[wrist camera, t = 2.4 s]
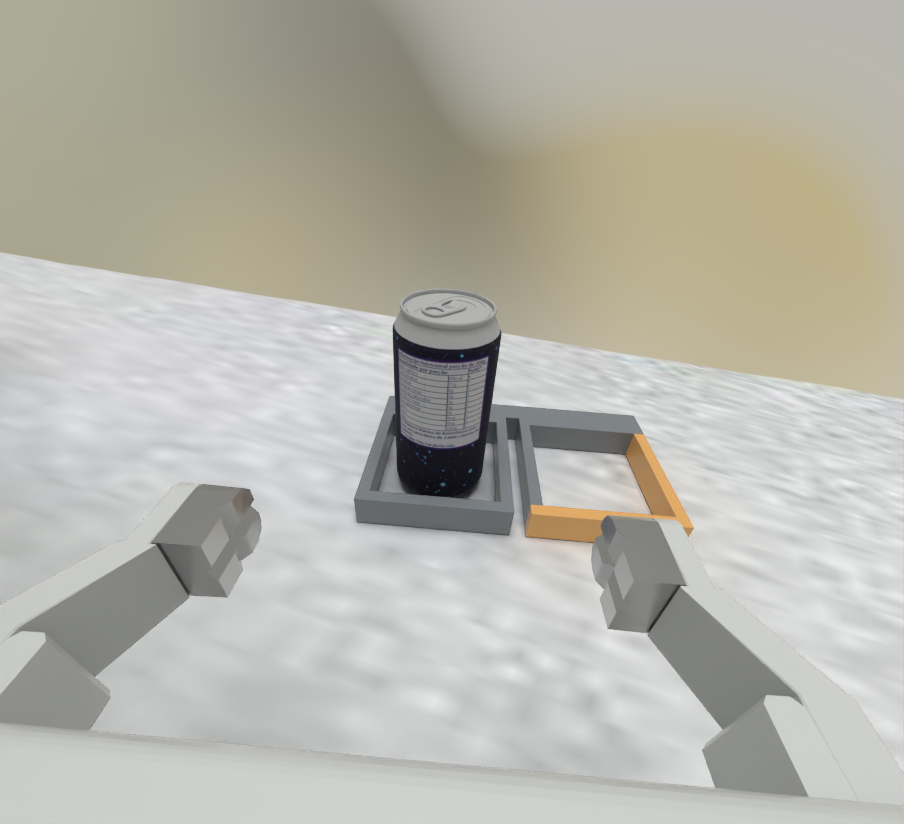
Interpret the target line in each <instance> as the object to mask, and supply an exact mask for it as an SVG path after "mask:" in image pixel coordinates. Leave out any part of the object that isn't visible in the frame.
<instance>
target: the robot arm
mask: <svg viewBox="0 0 904 824" xmlns="http://www.w3.org/2000/svg"><path fill="white" fill-rule="evenodd" d="M253 500H254V498H253V496H252V494H251V491H250V489H245V488H235V487H226V486H216V485H206V484H193V483H183V482H181V483H179V484H177V485H175V486H173V487H172V488H171V489H170V491H169V492H168V493H167V494H166V495H165V496H164V497H163V498H162V500H161V501H160V502H159V503H158V504H157V505H156V506H155V507H154V509H153V510H152V511H151V512H150V513H149V514H148V515H147V516H146V518H145V519H144V520H143V521H142V522H141V523H140V524H139V525H138V527H137V528H136V529H135V530H134V531H133V532H132V533H131V534H130V536H129V537H128V538H127V539H126V540H125V541H117V542H115V543H113V544H111V545H109V546H107V547H105V548H104V549H102V550H100V551H98V552H96V553H94V554H93V555H91V556H89V557H87V558H85V559H83V560H82V561H80V562H78V563H76V564H74V565H72V566H71V567H69V568H67V569H65V570H63V571H61V572H60V573H58V574H56V575H54V576H52V577H50V578H49V579H47V580H45V581H43V582H41V583H39V584H38V585H36V586H34V587H32V588H30V589H28V590H26V591H25V592H23V593H21V594H19V595H17V596H15V597H14V598H12V599H10V600H8V601H6V602H4V603H3V604H1V605H0V824H904V772H903V771H902V769H901V768H900V766H899V765H898V763H897V762H896V760H895V759H894V757H893V756H892V754H891V753H890V751H889V750H888V748H887V747H886V745H885V744H884V742H883V741H882V739H881V738H880V736H879V735H878V733H877V732H876V730H875V729H874V727H873V726H872V724H871V723H870V721H869V720H868V718H867V717H866V715H865V714H864V712H863V711H862V709H861V708H860V706H859V705H858V703H857V702H856V700H855V699H853V698H852V697H851V696H850V695H849V694H847V693H846V692H845V691H844V690H843V689H841V688H840V687H839V686H838V685H837V684H835V683H834V682H833V681H832V680H831V679H829V678H828V677H827V676H826V675H825V674H823V673H822V672H821V671H820V670H819V669H817V668H816V667H815V666H814V665H813V664H811V663H810V662H809V661H808V660H807V659H805V658H804V657H803V656H802V655H801V654H799V653H798V652H797V651H796V650H795V649H793V648H792V647H791V646H790V645H789V644H787V643H786V642H785V641H784V640H783V639H781V638H780V637H779V636H778V635H777V634H775V633H774V632H773V631H772V630H771V629H769V628H768V627H767V626H766V625H765V624H763V623H762V622H761V621H760V620H759V619H757V618H756V617H755V616H754V615H753V614H751V613H750V612H749V611H748V610H747V609H745V608H744V607H743V606H742V605H741V604H740V603H738V602H737V601H736V600H735V599H734V598H732V597H731V596H730V595H729V594H728V593H726V592H725V591H724V590H723V589H715V587H714V585H713V584H712V582H711V580H710V578H709V576H708V574H707V572H706V570H705V568H704V567H703V565H702V563H701V561H700V559H699V557H698V555H697V553H696V551H695V549H694V548H693V546H692V544H691V542H690V540H689V538H688V536H687V534H686V532H685V530H684V529H683V527H682V525H681V524H680V523H679V522H678V521H677V520H668V519H654V518H653V519H651V518H644V517H628V516H612V515H607V516H606V517H605V518H604V519H603V521H602V523H601V529H602V533H603V534H602V535H600V536H599V537H597V538H595V541H594V544H593V547H592V557H591V561H592V570H593V574H594V578H595V580H596V581H597V583H598V584H599V585H600V586H601V587H602V588H603V589H604V591H603V593H602V595H601V597H600V601H601V605H602V609H603V613H604V616H605V620H606V624H607V628H608V629H613V630H622V631H631V632H640V633H649V634H648V637H649V638H650V639H651V640H652V642H653V643H654V644H655V645H656V647H657V648H658V649H659V650H660V652H661V653H662V654H663V655H664V657H665V658H666V659H667V660H668V662H669V663H670V664H671V665H672V667H673V668H674V669H675V670H676V672H677V673H678V674H679V676H680V677H681V678H682V679H683V681H684V682H685V683H686V684H687V686H688V687H689V688H690V689H691V691H692V692H693V693H694V694H695V696H696V697H697V698H698V699H699V701H700V702H701V703H702V704H703V706H704V707H705V708H706V709H707V711H708V712H709V713H710V714H711V716H712V717H713V718H714V719H715V721H716V722H717V723H718V724H719V726H720V727H721V728H722V729H723V730H722V731H721V732H720V733H718V734H717V735H716V736H715V737H713V738H712V739H711V740H710V741H708V742H707V743H706V745H705V747H704V748H703V750H702V751H703V754H704V757H705V760H706V763H707V765H708V768H709V771H710V774H711V777H712V780H713V783H714V785H715V788H710V787H699V786H688V785H678V784H667V783H656V782H645V781H634V780H623V779H612V778H601V777H590V776H579V775H568V774H557V773H547V772H536V771H525V770H514V769H503V768H492V767H481V766H470V765H459V764H448V763H437V762H426V761H416V760H405V759H394V758H383V757H372V756H361V755H350V754H339V753H328V752H317V751H306V750H296V749H285V748H274V747H263V746H252V745H241V744H230V743H219V742H208V741H197V740H186V739H176V738H165V737H154V736H143V735H132V734H121V733H110V732H99V731H89V730H90V729H91V727H92V726H93V724H94V723H95V721H96V719H97V718H98V716H99V715H100V713H101V712H102V710H103V709H104V707H105V706H106V704H107V702H108V701H109V699H110V690H109V689H108V688H106V687H105V686H104V685H103V684H102V683H101V682H100V681H99V680H97V679H96V678H95V676H96V675H97V674H98V673H100V672H101V671H102V670H103V669H104V668H106V667H107V666H108V665H109V664H110V663H112V662H113V661H114V660H115V659H116V658H118V657H119V656H120V655H121V654H122V653H124V652H125V651H126V650H127V649H128V648H130V647H131V646H132V645H133V644H134V643H136V642H137V641H138V640H139V639H140V638H142V637H143V636H144V635H145V634H146V633H148V632H149V631H150V630H151V629H152V628H154V627H155V626H156V625H157V624H158V623H160V622H161V621H162V620H163V619H164V618H166V617H167V616H168V615H169V614H170V613H172V612H173V611H174V610H175V609H176V608H178V607H179V606H180V605H181V604H182V603H184V602H185V601H186V600H187V599H188V598H189V596H188V595H191V596H209V597H228V596H229V594H230V592H231V591H232V589H233V587H234V585H235V583H236V582H237V580H238V578H239V576H240V574H241V573H242V571H243V568H242V563H241V560H243V559H244V558H246V557H247V556H248V555H250V554H251V553H253V551H254V549H255V547H256V545H257V543H258V541H259V537H260V533H261V518H260V515H259V512H257V511H256V510H255V509H254V508H252V507H251V506H250V505H251V503H252V502H253Z"/></svg>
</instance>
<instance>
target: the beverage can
mask: <svg viewBox="0 0 904 824" xmlns="http://www.w3.org/2000/svg"><path fill="white" fill-rule="evenodd" d="M400 309H401V311H400V313H399V315H398V317H397V319H396V320H395V322H394V325H393V353H394V384H395V416H396V448H397V470H398V474H399V476H400V478H401V479H402V481H403V482H404V483H405V484H406V485H407V486H408V487H410V488H411V489H413V490H415V491H417V492H419V493H421V494H424V495H427V496H437V497H450V496H454V495H458V494H461V493H463V492H465V491H467V490H469V489H470V488H472V487H473V486H474V485H475V484H476V483H477V482H478V480H479V478H480V476H481V473H482V467H483V460H484V453H485V446H486V439H487V432H488V425H489V418H490V411H491V404H492V397H493V390H494V383H495V376H496V369H497V362H498V355H499V347H500V340H501V330H500V327H499V324H498V322H497V319H496V313H497V309H496V306H495V304H494V303H493V302H492V301H491V300H489V299H488V298H486V297H484V296H482V295H479V294H476V293H473V292H469V291H463V290H457V289H427V290H421V291H417V292H413V293H411V294H409V295H407V296H405V297H404V298H403V299H402V300H401V302H400Z"/></svg>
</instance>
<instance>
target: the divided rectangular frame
mask: <svg viewBox="0 0 904 824" xmlns="http://www.w3.org/2000/svg"><path fill="white" fill-rule="evenodd" d="M394 435H396V416H395V396H389V399H388V402H387V405H386V408H385V411H384V414H383V416H382V419H381V422H380V425H379V428H378V431H377V434H376V437H375V440H374V443H373V445H372V448H371V451H370V454H369V457H368V460H367V463H366V466H365V469H364V472H363V475H362V477H361V480H360V483H359V486H358V489H357V492H356V495H355V498H354V502H355V510H356V518H357V522H364V523H375V524H387V525H398V526H410V527H421V528H433V529H444V530H456V531H467V532H479V533H490V534H502V535H509V533H510V528H511V524H512V519H513V515H514V506H513V495H512V483H511V472H510V460H509V449H508V439H515V443H516V452H517V461H518V470H519V479H520V488H521V497H522V506H523V515H524V524H525V533H526V537H536V538H548V539H559V540H571V541H582V542H594V541H595V538H597V537H599V536H600V535H602V534H603V533H602V529H601V523H602V521H603V519H604V518H605V517H606V516H607V515H612V516H628V517H644V518H651V519H653V518H654V519H668V520H677V521H678V522H679V523H680V524H681V525H682V527H683V529H684V530H685V532H686V534H687V536H688V537H689V535H690V533H691V532H692V530H693V529H694V527H693V525H692V524H691V522H690V520H689V518H688V516H687V514H686V512H685V510H684V509H683V507H682V505H681V503H680V501H679V499H678V497H677V496H676V494H675V492H674V490H673V488H672V486H671V484H670V483H669V481H668V479H667V477H666V475H665V473H664V471H663V469H662V468H661V466H660V464H659V462H658V460H657V458H656V456H655V455H654V453H653V451H652V449H651V447H650V445H649V443H648V442H647V440H646V438H645V436H644V434H643V432H642V430H641V428H640V427H639V425H638V423H637V421H636V419H635V417H634V416H630V415H618V414H605V413H593V412H581V411H569V410H557V409H545V408H532V407H520V406H508V405H496V404H491V411H490V418H489V425H488V432H487V439H486V443H493V446H494V471H495V495H496V502H495V501H484V500H472V499H460V498H449V497H437V496H425V495H414V494H402V493H390V492H379V491H378V489H379V485H380V482H381V478H382V475H383V471H384V468H385V464H386V461H387V457H388V454H389V450H390V447H391V443H392V440H393V437H394ZM533 447H545V448H557V449H569V450H581V451H593V452H605V453H617V454H625V455H626V457H627V459H628V461H629V464H630V466H631V468H632V470H633V472H634V475H635V477H636V479H637V481H638V484H639V486H640V488H641V490H642V493H643V495H644V497H645V499H646V502H647V504H648V506H649V508H650V510H651V513H652V515H647V514H635V513H624V512H612V511H600V510H589V509H577V508H565V507H554V506H543V503H542V497H541V491H540V485H539V479H538V473H537V467H536V461H535V455H534V449H533Z"/></svg>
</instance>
